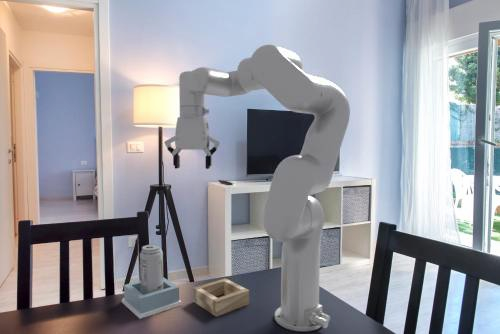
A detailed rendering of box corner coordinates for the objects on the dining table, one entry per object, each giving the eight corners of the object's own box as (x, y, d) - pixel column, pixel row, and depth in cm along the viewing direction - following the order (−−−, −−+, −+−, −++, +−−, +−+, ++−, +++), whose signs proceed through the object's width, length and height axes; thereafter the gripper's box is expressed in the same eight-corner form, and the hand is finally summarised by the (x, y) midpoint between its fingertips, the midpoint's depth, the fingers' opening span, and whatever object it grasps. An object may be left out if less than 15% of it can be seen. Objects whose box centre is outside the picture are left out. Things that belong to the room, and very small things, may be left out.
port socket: (181, 304, 98) (181, 287, 98) (139, 318, 91) (139, 299, 90) (161, 290, 108) (161, 274, 107) (121, 302, 100) (121, 284, 99)
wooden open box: (249, 304, 99) (249, 290, 99) (216, 316, 92) (216, 301, 92) (225, 291, 107) (225, 278, 107) (193, 301, 100) (193, 287, 100)
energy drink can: (164, 303, 97) (163, 249, 96) (140, 306, 95) (139, 251, 94) (162, 294, 103) (162, 243, 102) (140, 296, 101) (139, 244, 100)
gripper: (221, 113, 113) (221, 167, 115) (168, 113, 115) (169, 167, 116) (217, 112, 106) (217, 169, 107) (160, 112, 107) (161, 169, 109)
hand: (192, 168), depth 112 cm, fingers open, 9 cm apart
